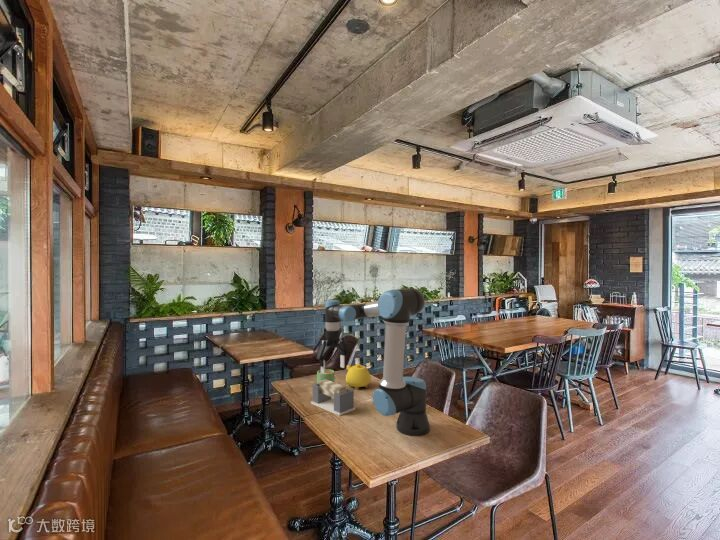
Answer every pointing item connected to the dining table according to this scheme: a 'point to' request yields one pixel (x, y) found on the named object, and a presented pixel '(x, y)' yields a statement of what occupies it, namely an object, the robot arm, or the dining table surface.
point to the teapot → (358, 376)
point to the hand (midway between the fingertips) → (333, 370)
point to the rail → (330, 388)
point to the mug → (325, 375)
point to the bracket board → (334, 401)
